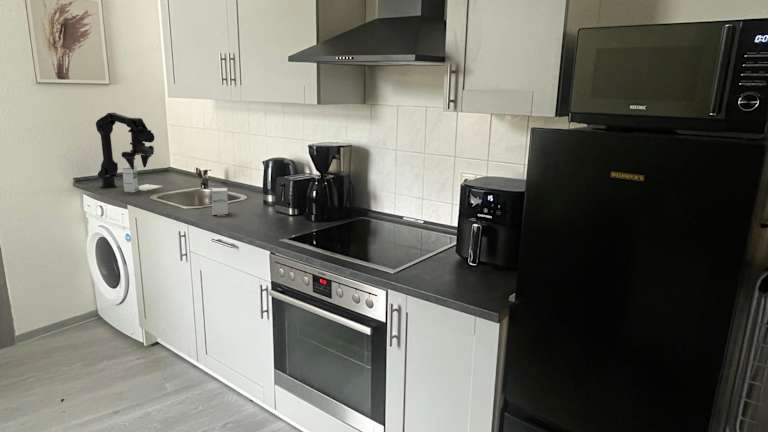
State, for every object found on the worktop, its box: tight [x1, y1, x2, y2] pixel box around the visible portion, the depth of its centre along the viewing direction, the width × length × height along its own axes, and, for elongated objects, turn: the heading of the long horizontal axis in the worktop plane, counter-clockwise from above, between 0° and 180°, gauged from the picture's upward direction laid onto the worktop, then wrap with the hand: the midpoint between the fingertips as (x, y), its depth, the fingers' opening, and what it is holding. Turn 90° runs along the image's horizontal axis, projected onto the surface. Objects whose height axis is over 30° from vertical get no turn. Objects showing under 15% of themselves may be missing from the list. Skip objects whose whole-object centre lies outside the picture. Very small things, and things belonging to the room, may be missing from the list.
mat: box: [138, 183, 164, 192], centre depth 309 cm, size 12×15×1 cm
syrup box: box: [121, 165, 140, 193], centre depth 297 cm, size 6×6×14 cm
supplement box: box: [211, 187, 229, 216], centre depth 254 cm, size 7×7×13 cm
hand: (138, 168), depth 293 cm, fingers open, 9 cm apart
